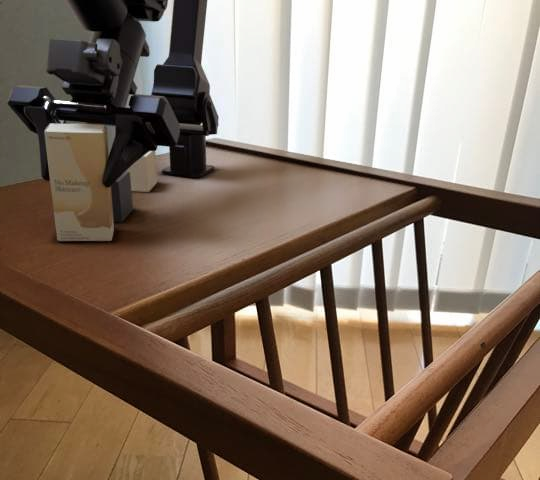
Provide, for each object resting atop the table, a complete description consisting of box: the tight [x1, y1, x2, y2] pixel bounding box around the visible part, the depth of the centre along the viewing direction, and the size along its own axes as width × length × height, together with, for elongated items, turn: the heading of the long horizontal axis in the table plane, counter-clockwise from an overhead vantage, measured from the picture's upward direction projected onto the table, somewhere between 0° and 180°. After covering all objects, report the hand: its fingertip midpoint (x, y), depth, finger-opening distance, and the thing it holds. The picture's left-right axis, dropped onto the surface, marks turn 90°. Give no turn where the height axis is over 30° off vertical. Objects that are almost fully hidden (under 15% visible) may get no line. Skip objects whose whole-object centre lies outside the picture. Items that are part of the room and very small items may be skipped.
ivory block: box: [126, 151, 158, 193], centre depth 91 cm, size 5×5×5 cm
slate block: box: [111, 171, 134, 223], centre depth 79 cm, size 5×5×5 cm
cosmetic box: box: [44, 123, 115, 242], centre depth 70 cm, size 6×4×12 cm
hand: (74, 182), depth 69 cm, fingers closed on cosmetic box, 7 cm apart
